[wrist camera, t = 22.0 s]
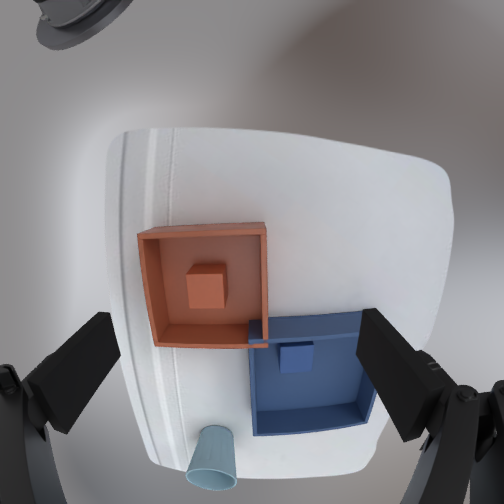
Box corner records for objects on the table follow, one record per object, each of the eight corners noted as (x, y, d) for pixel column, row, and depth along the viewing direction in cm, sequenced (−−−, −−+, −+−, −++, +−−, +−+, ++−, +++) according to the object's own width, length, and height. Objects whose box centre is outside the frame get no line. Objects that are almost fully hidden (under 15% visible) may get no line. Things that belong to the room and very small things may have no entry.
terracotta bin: (154, 226, 32) (136, 233, 27) (264, 222, 32) (266, 228, 26) (167, 325, 35) (154, 346, 29) (266, 325, 35) (268, 348, 29)
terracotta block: (192, 264, 32) (185, 274, 28) (226, 263, 32) (222, 273, 28) (196, 295, 33) (189, 309, 29) (228, 295, 33) (224, 308, 29)
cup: (195, 443, 40) (187, 486, 30) (194, 418, 39) (183, 465, 28) (237, 448, 40) (234, 492, 30) (240, 423, 39) (238, 472, 29)
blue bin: (248, 317, 34) (248, 339, 29) (375, 309, 34) (392, 327, 29) (253, 411, 38) (253, 436, 33) (357, 401, 38) (367, 423, 32)
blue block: (277, 331, 34) (280, 347, 30) (308, 329, 34) (314, 345, 30) (277, 356, 35) (279, 373, 31) (306, 354, 35) (312, 371, 31)
